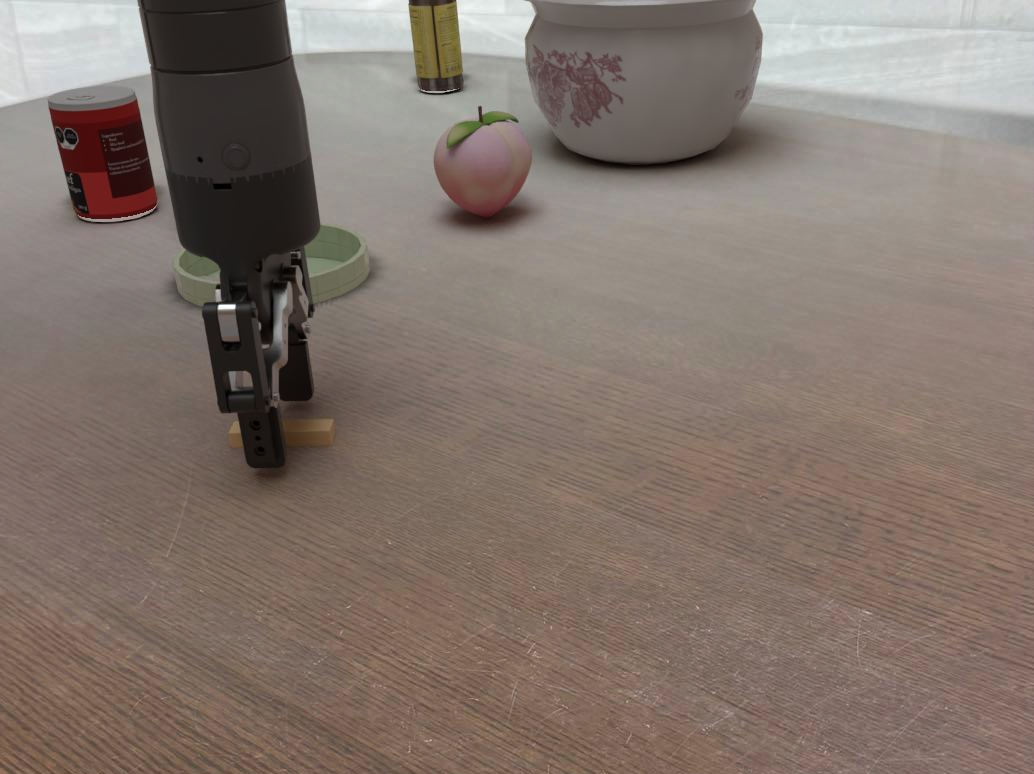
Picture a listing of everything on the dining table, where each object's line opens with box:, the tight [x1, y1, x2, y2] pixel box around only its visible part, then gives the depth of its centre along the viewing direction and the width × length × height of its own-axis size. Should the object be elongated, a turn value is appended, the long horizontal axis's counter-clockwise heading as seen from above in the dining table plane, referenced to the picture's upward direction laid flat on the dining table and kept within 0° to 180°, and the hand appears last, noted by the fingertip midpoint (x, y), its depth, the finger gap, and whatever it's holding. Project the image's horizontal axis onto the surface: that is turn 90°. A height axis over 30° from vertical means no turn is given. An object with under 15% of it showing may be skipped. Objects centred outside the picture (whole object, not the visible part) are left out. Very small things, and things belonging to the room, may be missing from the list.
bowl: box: [172, 222, 371, 308], centre depth 96 cm, size 15×15×4 cm
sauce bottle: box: [408, 0, 464, 91], centre depth 154 cm, size 6×6×20 cm
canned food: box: [47, 85, 158, 219], centre depth 114 cm, size 8×8×11 cm
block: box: [227, 418, 337, 449], centre depth 72 cm, size 6×2×2 cm, turn 89°
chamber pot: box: [524, 0, 764, 166], centre depth 125 cm, size 28×28×21 cm
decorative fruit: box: [433, 105, 533, 219], centre depth 109 cm, size 9×8×10 cm
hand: (283, 430), depth 71 cm, fingers open, 8 cm apart
